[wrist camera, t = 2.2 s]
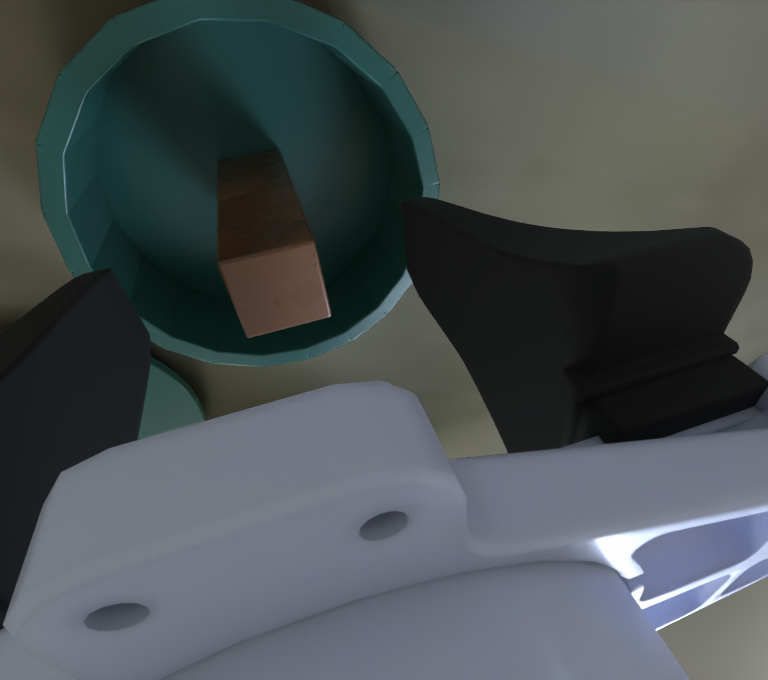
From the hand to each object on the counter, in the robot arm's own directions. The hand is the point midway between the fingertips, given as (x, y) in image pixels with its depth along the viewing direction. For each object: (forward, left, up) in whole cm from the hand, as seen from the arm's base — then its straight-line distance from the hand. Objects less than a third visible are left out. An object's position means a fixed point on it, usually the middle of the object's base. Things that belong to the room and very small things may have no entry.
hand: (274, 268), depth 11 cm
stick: (0, 0, -6) cm, 6 cm away
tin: (0, 0, -7) cm, 7 cm away
